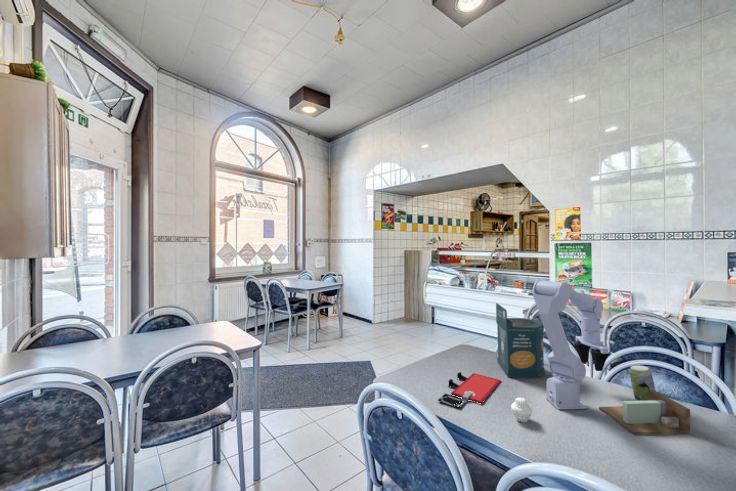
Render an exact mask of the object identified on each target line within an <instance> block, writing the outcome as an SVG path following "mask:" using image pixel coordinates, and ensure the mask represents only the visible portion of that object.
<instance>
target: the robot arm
mask: <svg viewBox="0 0 736 491" xmlns="http://www.w3.org/2000/svg"><path fill="white" fill-rule="evenodd" d="M531 294H532V298H533V300H534V302H535V306H536V307H537V309H538V315H539V317H540V321H541V322H542V324H543V326H544V332H545V334H546V337H547V340H548V342H549V345H550V349H551V352H549V354H548V356H547V361H548V365H547V366H548V369H549V371H550V372H551V373H552V377H549V378H547V379H546V381H545V382H546V383H545V384H546V396H545V399H546V400H547V401H548V402H549V403H551V405H552V406H554V407H555V408H556V409H557V410H586V409H587V406H585V405H584V404H583V403H581V391H580V390H581V388H580V382H582V381H583V380H584V379H585V377H586V374H587V369H586V365H585V364H586V363H589V358H590V356H589V354H591V356H592V359H593V365H594V370H595V371H596V372H602V371H603V370H604V367H605V363H606V361H607V359H608V358H609V357H610V356H611V353H610V352H609V347H607V346H605V345H604V341H602V340H601V319H602V318H603V317H602V316H603V314H602V313H603V310H604V303H603V301H602V300H600V298H597V297H592V296H591V294H589V293H586V292H585V290H584V289H577V290H576V289H574V288H572V287H571V283H568V282H565V281H563V282H562V281H550V280H549V281H548V280H542V279H537V280H536V281H535V282H534V284H533V287H532V290H531ZM568 302H569V303H570V304H571V305H573V306H575V307H576V308H577V310H578V312H580V320H581V321H580V323H581V324H580V325H581V326H580V327H581V328H580V329H581V333H580V334H581V335H576V336H575V341H576V342H574V344H573V345H574V347H575V348H576V350H577V353H578V355H577V354H575V353H574V352H573V351H572V349H571V347H570V344H569V341H568V338H567V335H566V333H565V329H564V327H563V323H562V321H561V318H560V315H559V313H561V312H563V311H565V308H566V307H567V304H568ZM591 348H592V349H593V350H591Z"/></svg>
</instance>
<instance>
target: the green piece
mask: <svg viewBox="0 0 736 491" xmlns="http://www.w3.org/2000/svg"><path fill="white" fill-rule="evenodd" d="M622 406H623V421H625V422H626V423H627V424H632V423H661V417H666V402H665V401H662V400H657V401H656V400H649V401H637V400H623V401H622Z"/></svg>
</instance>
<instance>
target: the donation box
mask: <svg viewBox="0 0 736 491" xmlns="http://www.w3.org/2000/svg"><path fill="white" fill-rule="evenodd" d="M495 311H496V312H495V313H496V314H495V317H496V318H495V319H496V325H497V328H496V329H497V357H496V361H497V362H498V363H497V365H498V366H499V365H500V366H499V367H500V369H501V370H502V371H503V373H504V372H505V373H504V374H505V375H506V377H507V378H513V377H518V378H520V379H521V378H523V379H524V378H525V379H539V378H541V377H542V376H544V375H545V374H546V368H544V367H545V366H544V365H545V364H544V363H545V361H544V359H545V358H544V354H545V353H544V332H545V329H544V326H543V323H541V322H540V321H538V320H535V319H530V318H526V317H519V318H518V317H508V311H507V309H506V308H505V307H503V306H502V305H501V304H499V303H496V304H495ZM518 378H517V379H518Z"/></svg>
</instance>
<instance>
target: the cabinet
mask: <svg viewBox="0 0 736 491" xmlns="http://www.w3.org/2000/svg"><path fill="white" fill-rule="evenodd" d="M649 400H656V401H657V400H662V401H665V402H666V417H661V423H632V424H627V423H626V422H625V421H623V405H622V406H619V405H618V406H616V405H615V406H598V409H599V411H601V412H602V413H603V414H605V415H607V416H608V417H609V418H610V419H612V420H613V421H615V422H616V424H617V423H618V424H619V425H620V426H622V427H623V428H624V429H626V430H627V431H628V432H629V433H631V434H633V435H634V436H638V435H639V436H642V435H644V436H645V435H648V436H649V435H684V434H685V435H686V434H690V435H691V409H690V408H688V407H686V406H684V405H682V404H680V403H679V402H676V401H675V400H673V399H671V398H669V397H668V396H665V395H663V394H661V393H659V392H658V391H654V390H648V401H649Z"/></svg>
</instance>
